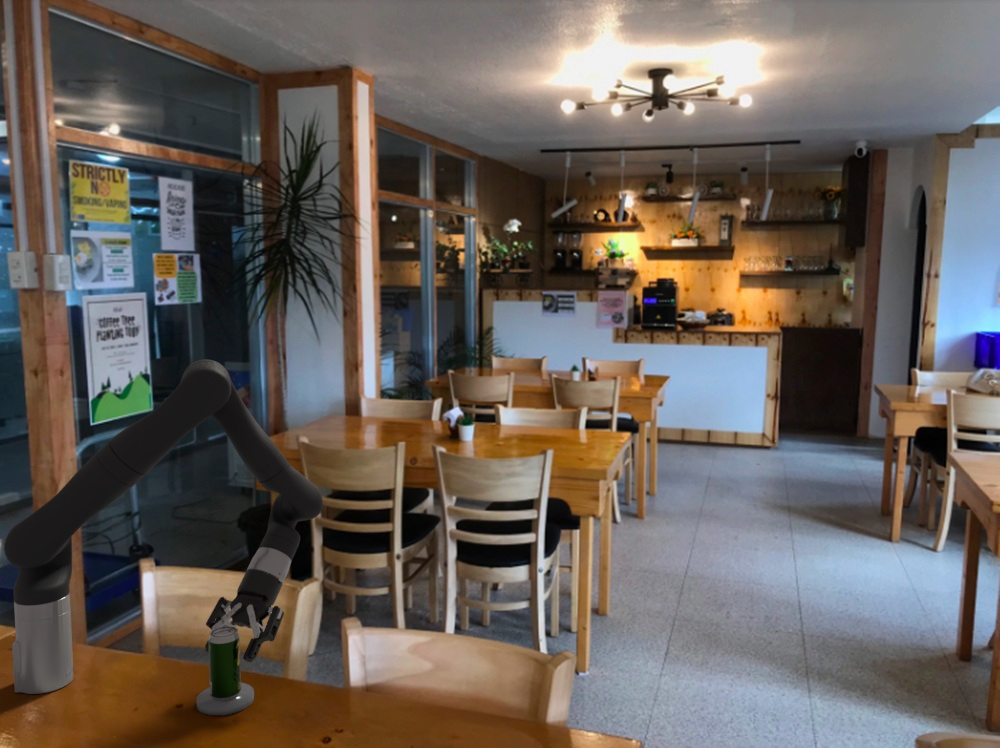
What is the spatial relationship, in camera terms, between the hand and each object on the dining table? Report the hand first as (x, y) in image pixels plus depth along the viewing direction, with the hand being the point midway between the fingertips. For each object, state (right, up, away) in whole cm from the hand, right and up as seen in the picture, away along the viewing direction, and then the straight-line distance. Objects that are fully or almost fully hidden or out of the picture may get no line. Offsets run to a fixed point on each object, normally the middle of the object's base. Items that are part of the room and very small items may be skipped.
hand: (227, 656), depth 144 cm
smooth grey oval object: (0, -8, 0) cm, 8 cm away
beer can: (0, -7, 0) cm, 7 cm away
